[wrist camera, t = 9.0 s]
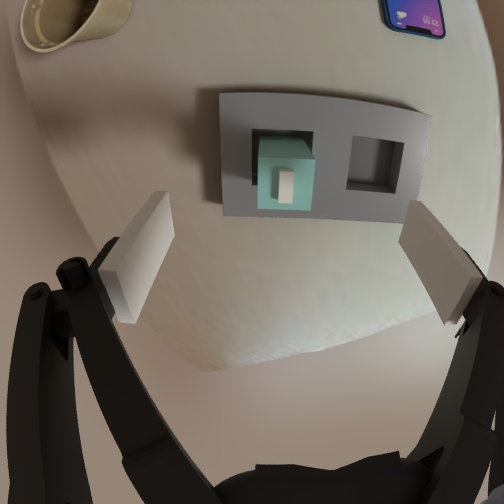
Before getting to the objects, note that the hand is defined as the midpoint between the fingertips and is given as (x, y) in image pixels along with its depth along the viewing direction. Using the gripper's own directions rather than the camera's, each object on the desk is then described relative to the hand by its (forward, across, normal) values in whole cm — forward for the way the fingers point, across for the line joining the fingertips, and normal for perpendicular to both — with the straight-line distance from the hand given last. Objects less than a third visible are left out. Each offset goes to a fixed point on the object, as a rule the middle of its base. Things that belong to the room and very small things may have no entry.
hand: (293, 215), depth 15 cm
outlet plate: (+14, +5, -1) cm, 15 cm away
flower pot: (+15, -17, +16) cm, 28 cm away
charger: (+14, 0, -1) cm, 14 cm away
